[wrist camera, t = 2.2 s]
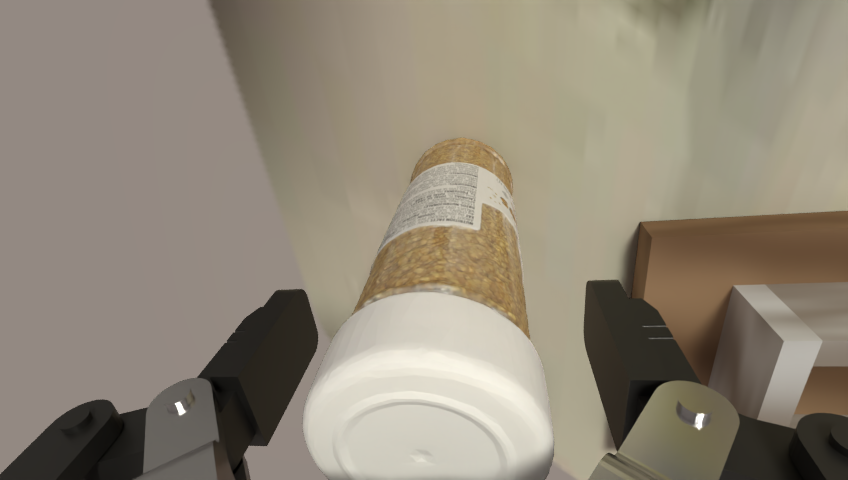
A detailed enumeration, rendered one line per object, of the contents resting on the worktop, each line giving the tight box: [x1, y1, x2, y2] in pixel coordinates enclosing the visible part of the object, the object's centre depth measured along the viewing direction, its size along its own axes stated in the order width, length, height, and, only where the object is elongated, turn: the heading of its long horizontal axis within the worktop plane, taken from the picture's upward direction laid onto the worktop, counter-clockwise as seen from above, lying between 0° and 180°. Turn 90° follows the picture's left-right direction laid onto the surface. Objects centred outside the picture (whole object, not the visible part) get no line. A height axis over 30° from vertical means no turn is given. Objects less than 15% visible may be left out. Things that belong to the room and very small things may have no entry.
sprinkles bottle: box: [303, 138, 554, 480], centre depth 13 cm, size 5×5×14 cm
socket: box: [631, 211, 848, 429], centre depth 18 cm, size 14×16×5 cm
